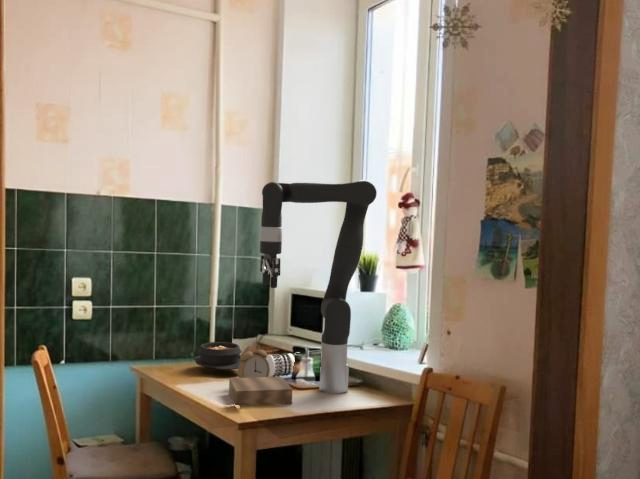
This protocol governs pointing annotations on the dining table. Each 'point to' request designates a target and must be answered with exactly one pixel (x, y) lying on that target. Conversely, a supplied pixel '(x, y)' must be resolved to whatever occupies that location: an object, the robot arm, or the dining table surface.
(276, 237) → the robot arm
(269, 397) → the walnut block
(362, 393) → the dining table surface
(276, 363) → the decorative candle
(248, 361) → the alarm clock
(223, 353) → the casserole
